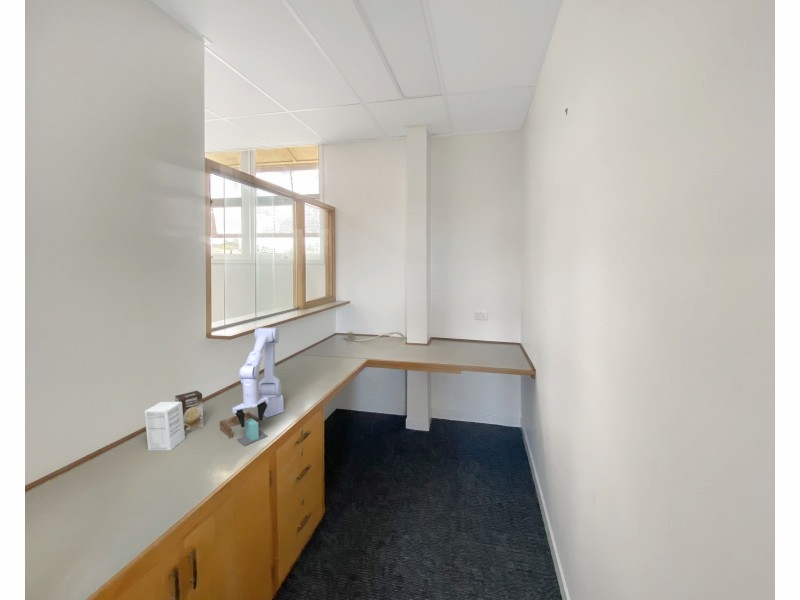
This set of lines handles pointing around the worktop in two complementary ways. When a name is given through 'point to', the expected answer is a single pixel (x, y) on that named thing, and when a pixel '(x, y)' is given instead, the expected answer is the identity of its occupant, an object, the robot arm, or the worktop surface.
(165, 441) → the supplement box
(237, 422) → the walnut cubby
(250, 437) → the teal blank
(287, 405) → the worktop surface
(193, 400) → the coffee box
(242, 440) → the charcoal mat
